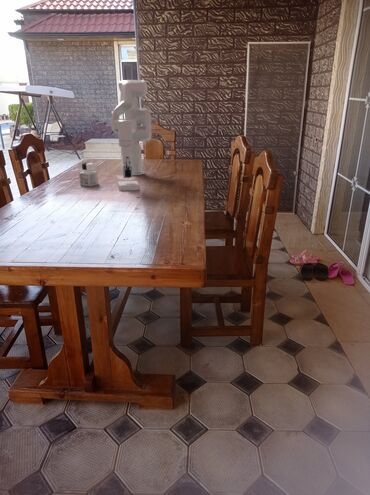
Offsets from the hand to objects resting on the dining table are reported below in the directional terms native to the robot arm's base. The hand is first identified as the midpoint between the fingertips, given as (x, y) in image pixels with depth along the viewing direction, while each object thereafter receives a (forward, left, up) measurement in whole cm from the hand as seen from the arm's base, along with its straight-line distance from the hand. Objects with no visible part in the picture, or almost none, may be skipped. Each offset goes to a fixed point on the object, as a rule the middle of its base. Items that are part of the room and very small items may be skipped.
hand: (127, 175), depth 213 cm
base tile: (0, 0, -7) cm, 7 cm away
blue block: (0, 0, -1) cm, 1 cm away
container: (-15, -22, -8) cm, 28 cm away
